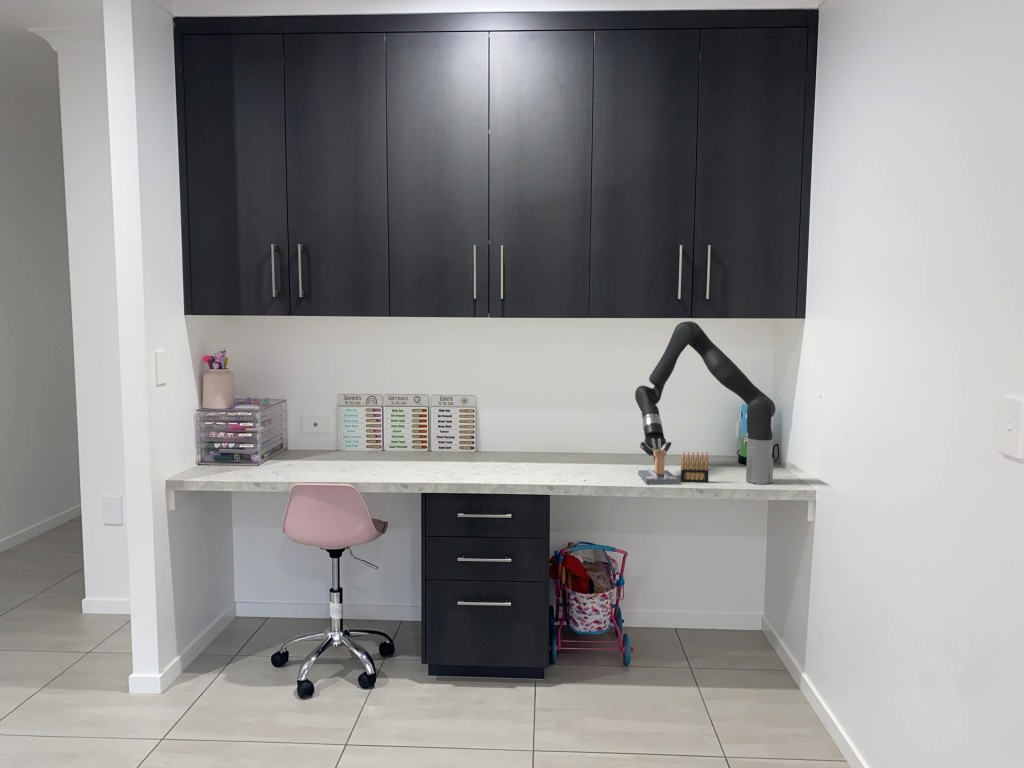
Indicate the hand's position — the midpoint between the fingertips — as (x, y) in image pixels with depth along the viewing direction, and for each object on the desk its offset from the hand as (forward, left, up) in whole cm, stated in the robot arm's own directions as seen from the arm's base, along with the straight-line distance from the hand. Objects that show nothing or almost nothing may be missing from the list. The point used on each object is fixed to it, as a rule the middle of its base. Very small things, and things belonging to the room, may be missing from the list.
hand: (658, 463), depth 313 cm
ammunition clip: (-14, +3, -7) cm, 16 cm away
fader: (0, +2, -5) cm, 5 cm away
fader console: (0, -1, -7) cm, 7 cm away
